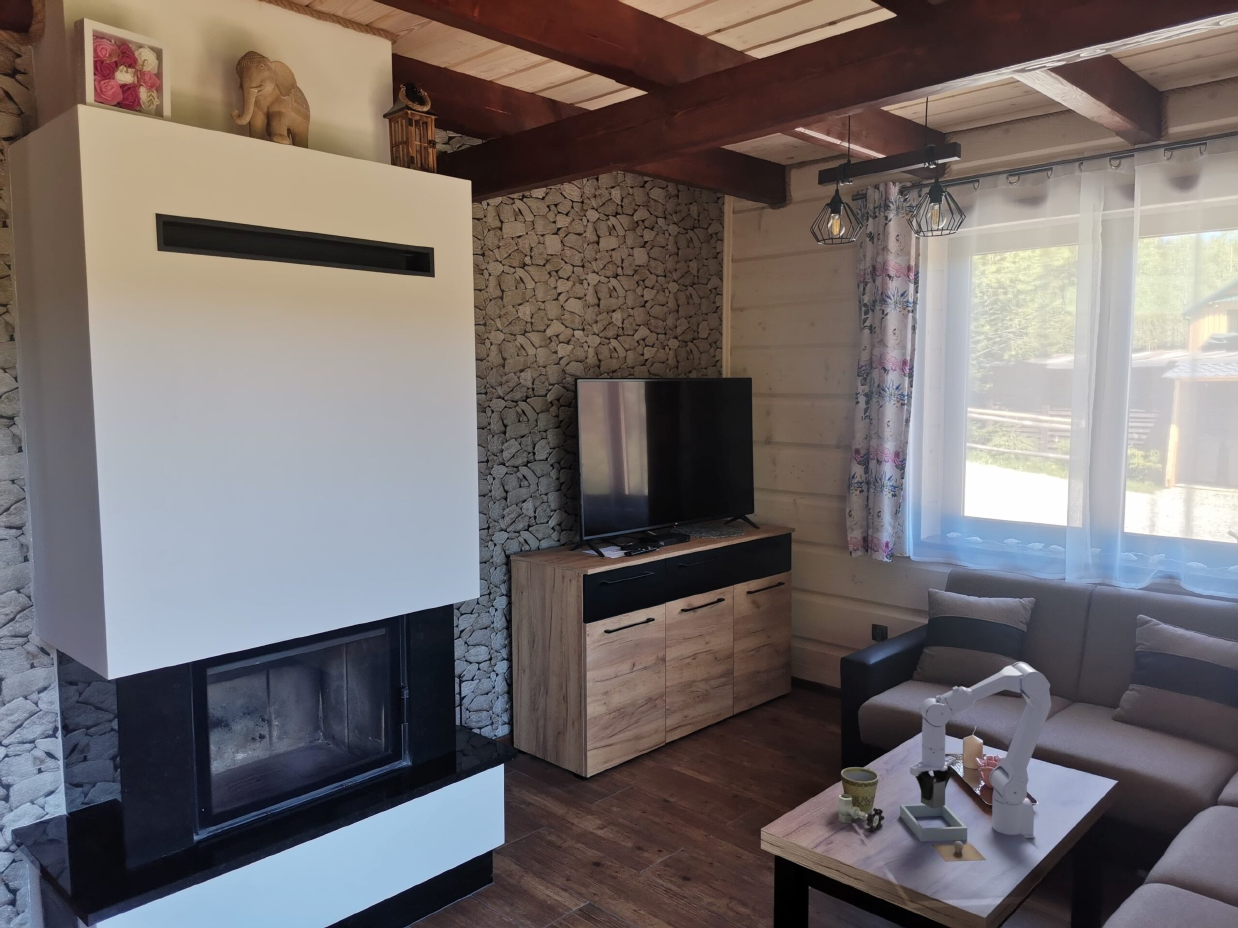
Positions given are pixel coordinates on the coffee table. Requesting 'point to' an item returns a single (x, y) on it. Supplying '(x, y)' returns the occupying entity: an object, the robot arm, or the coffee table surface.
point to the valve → (857, 813)
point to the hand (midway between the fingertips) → (932, 796)
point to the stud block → (958, 852)
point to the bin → (933, 834)
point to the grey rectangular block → (936, 794)
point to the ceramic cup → (860, 787)
